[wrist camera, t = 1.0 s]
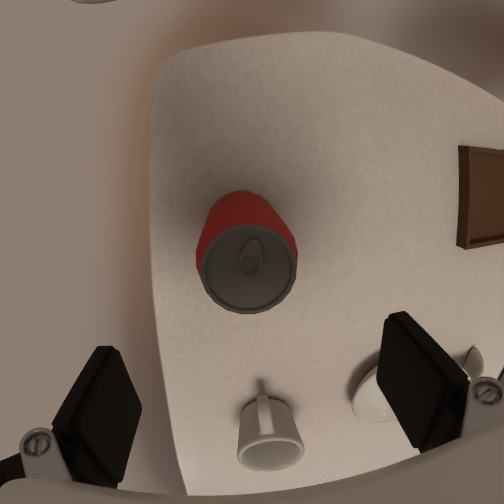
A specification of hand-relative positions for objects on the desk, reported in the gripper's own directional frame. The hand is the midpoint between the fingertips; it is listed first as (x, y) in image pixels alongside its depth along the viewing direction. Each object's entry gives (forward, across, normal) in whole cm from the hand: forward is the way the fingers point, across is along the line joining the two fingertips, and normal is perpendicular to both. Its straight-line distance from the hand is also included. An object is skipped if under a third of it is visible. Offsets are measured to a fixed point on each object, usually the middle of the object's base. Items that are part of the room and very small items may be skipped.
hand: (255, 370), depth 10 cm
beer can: (+20, 0, -1) cm, 20 cm away
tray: (+20, -33, -2) cm, 39 cm away
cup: (+21, 0, +23) cm, 31 cm away
